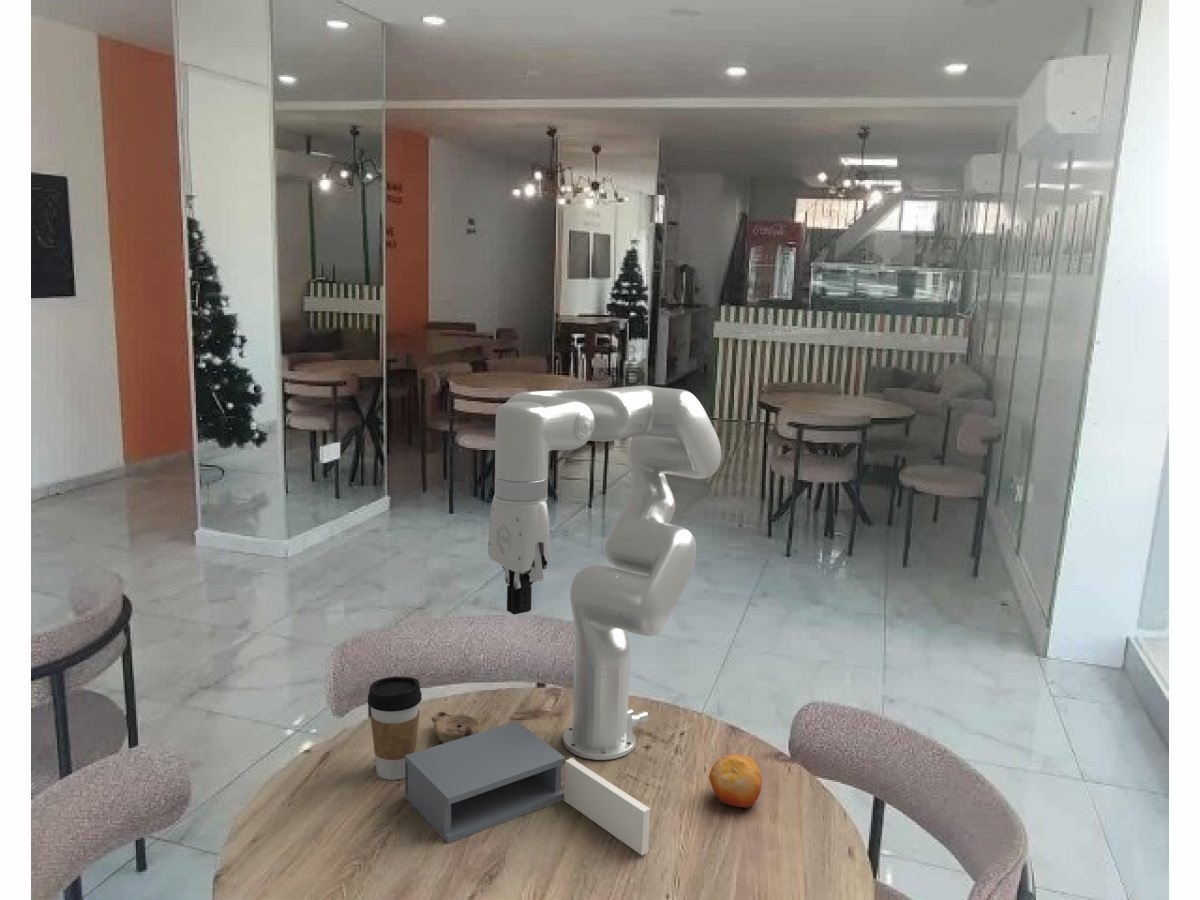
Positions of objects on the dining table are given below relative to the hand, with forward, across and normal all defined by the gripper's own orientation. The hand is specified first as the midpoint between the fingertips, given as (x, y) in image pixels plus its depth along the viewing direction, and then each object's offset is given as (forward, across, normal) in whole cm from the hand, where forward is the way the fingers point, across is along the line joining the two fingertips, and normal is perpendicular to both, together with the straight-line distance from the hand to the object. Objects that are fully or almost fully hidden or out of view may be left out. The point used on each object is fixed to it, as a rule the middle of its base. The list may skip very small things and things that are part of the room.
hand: (518, 610), depth 132 cm
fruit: (+31, +18, +29) cm, 46 cm away
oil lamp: (+32, -22, +2) cm, 38 cm away
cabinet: (+31, -4, -3) cm, 31 cm away
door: (+31, +12, +8) cm, 34 cm away
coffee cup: (+31, -19, -11) cm, 38 cm away
